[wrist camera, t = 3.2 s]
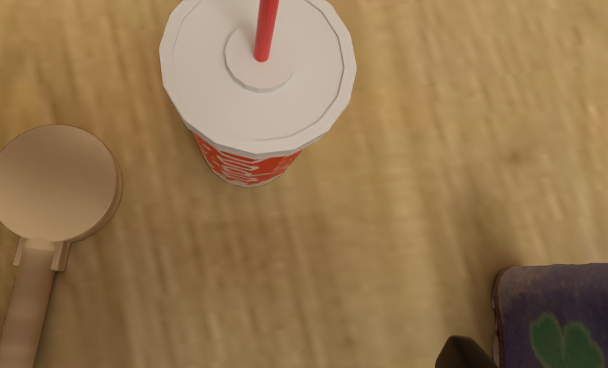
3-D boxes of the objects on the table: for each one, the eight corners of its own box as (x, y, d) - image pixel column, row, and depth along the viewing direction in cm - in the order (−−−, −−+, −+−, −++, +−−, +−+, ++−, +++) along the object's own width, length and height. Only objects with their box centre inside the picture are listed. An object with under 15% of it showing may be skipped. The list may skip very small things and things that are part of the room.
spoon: (46, 556, 19) (32, 577, 17) (-98, 549, 18) (-125, 571, 17) (132, 142, 22) (126, 133, 21) (17, 124, 22) (2, 113, 20)
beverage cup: (161, 168, 22) (60, -5, 9) (220, 63, 24) (210, -222, 10) (278, 224, 23) (352, 138, 9) (328, 116, 24) (455, -92, 11)
